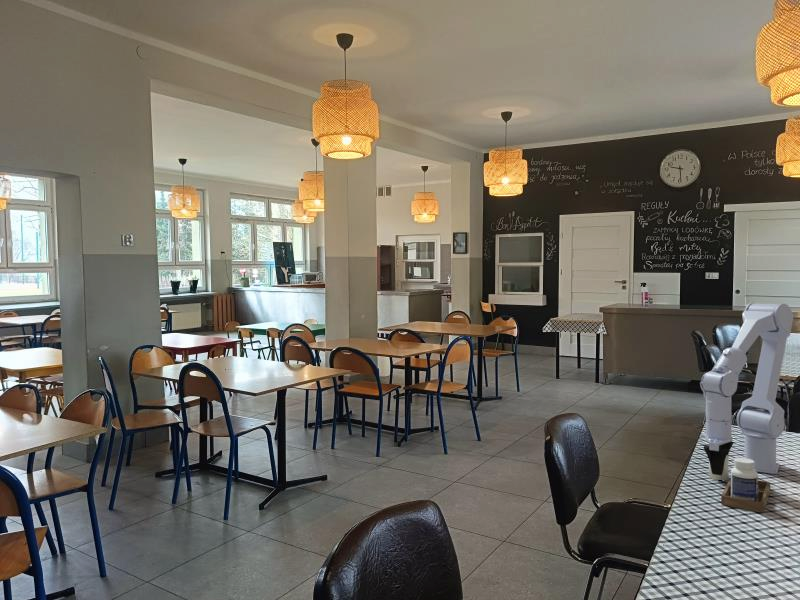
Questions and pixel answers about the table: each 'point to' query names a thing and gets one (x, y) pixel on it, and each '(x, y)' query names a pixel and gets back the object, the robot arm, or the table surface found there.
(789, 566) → the table surface
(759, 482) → the wooden tray
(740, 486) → the pill bottle
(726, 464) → the salt shaker
